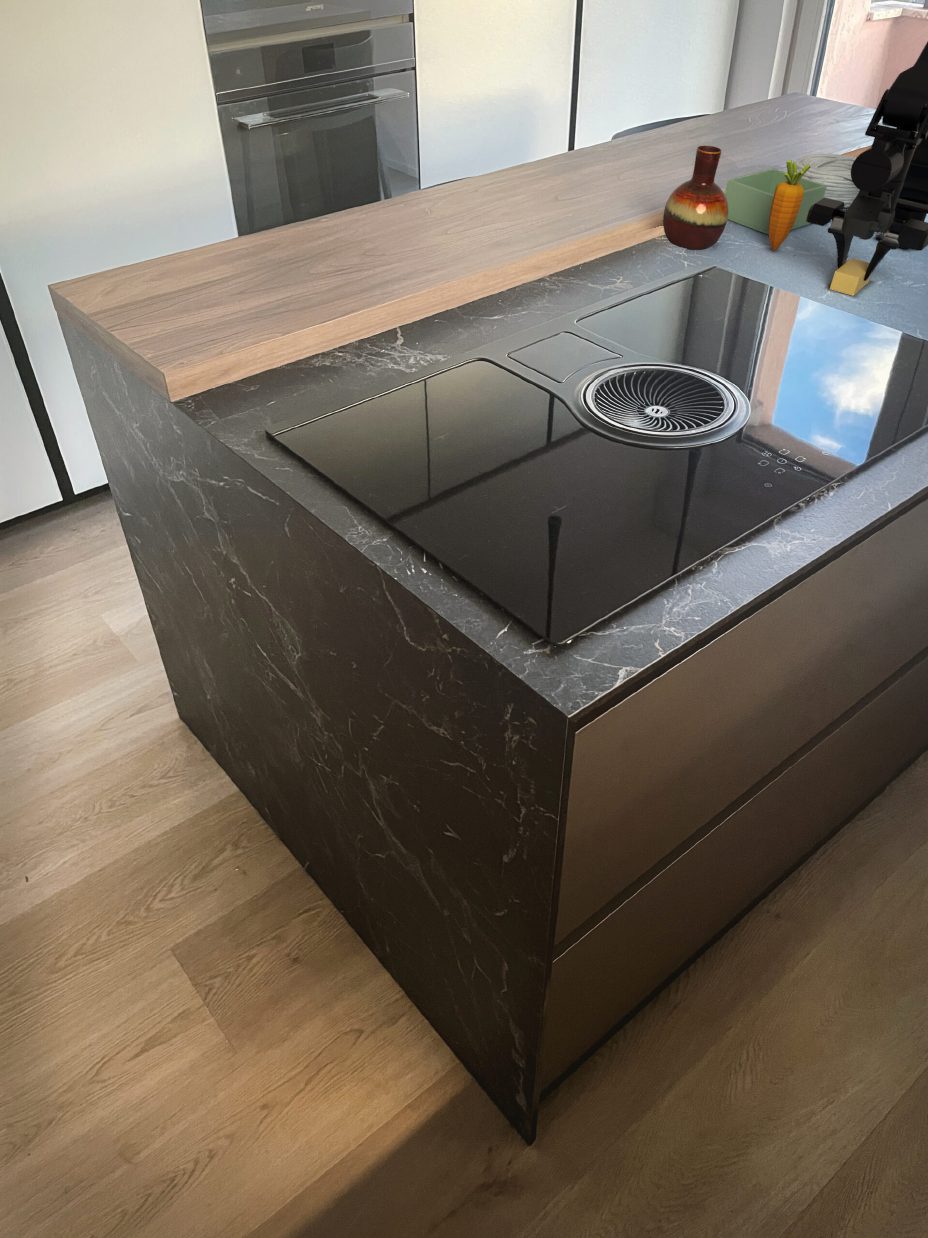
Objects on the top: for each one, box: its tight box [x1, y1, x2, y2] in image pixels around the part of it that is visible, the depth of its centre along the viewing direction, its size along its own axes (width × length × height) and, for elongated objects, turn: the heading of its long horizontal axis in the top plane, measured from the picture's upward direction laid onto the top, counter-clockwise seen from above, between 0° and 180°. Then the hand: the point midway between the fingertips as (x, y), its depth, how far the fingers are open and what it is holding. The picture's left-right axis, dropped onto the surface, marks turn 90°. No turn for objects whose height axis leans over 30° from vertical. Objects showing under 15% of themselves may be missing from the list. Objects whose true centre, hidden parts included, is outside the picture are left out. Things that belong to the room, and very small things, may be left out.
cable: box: [792, 153, 860, 208], centre depth 187 cm, size 18×18×6 cm
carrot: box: [768, 159, 811, 252], centre depth 161 cm, size 5×5×15 cm
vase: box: [662, 145, 728, 251], centre depth 162 cm, size 11×11×15 cm
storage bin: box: [724, 168, 827, 236], centre depth 176 cm, size 14×12×7 cm
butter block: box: [829, 257, 872, 297], centre depth 154 cm, size 8×4×3 cm, turn 144°
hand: (852, 276), depth 154 cm, fingers closed on butter block, 4 cm apart
